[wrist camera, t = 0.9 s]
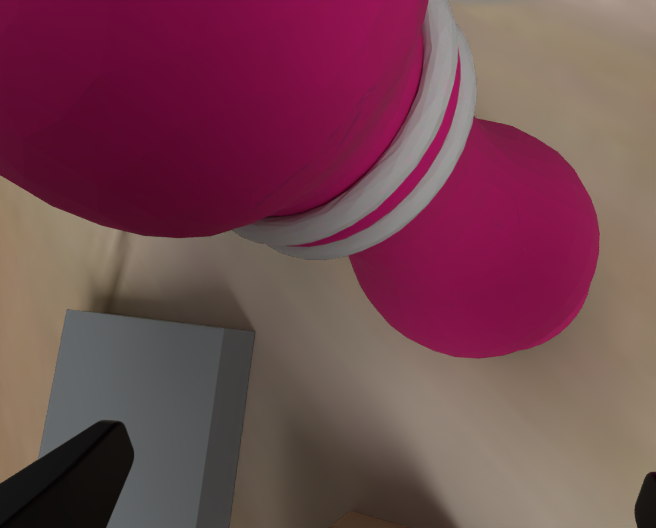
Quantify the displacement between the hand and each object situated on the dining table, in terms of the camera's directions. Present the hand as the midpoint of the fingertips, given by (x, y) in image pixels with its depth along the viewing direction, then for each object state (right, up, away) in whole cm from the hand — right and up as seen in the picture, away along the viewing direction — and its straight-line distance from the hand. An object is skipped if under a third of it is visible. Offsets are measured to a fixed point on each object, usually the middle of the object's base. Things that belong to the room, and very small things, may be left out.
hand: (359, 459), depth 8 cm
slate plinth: (-10, -5, +17) cm, 20 cm away
